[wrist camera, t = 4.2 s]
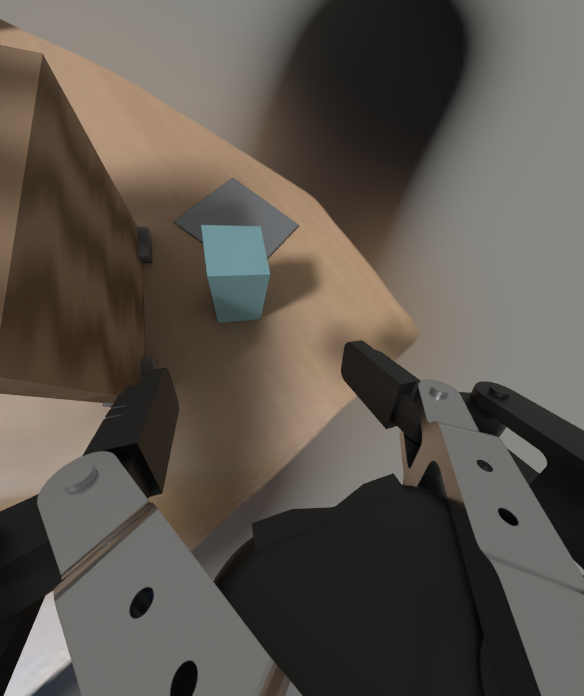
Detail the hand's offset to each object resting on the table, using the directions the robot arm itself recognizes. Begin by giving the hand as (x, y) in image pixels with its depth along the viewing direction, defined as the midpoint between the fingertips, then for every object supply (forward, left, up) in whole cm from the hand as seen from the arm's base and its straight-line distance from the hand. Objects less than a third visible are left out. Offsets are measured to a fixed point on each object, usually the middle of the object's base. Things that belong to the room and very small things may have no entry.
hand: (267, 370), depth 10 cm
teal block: (+8, +8, -15) cm, 19 cm away
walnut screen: (0, +16, -14) cm, 22 cm away
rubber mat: (+18, +15, -14) cm, 28 cm away
